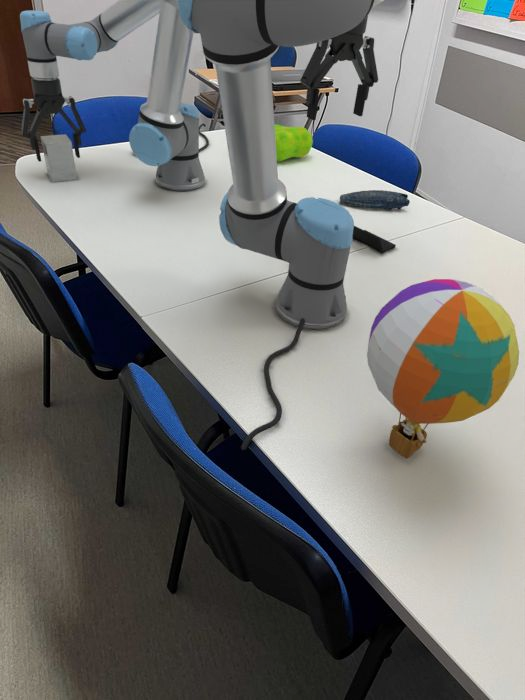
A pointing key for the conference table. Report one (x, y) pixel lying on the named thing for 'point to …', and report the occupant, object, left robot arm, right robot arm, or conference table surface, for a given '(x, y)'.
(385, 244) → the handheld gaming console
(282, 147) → the decorative tree
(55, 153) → the metal block
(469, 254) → the conference table surface
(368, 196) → the fish model
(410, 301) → the toy
